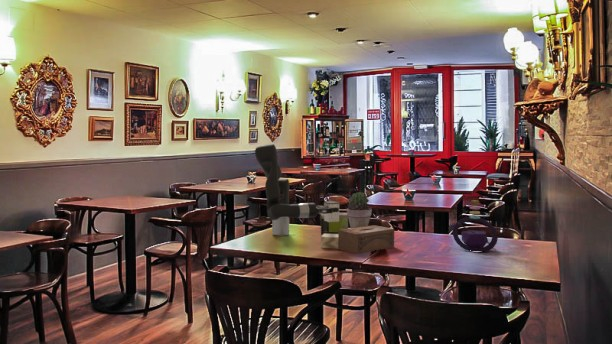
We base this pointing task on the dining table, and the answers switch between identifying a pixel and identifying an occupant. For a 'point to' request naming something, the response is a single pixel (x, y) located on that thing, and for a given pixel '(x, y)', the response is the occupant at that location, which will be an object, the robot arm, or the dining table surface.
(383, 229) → the tissue box cover
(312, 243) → the dining table surface
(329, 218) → the canister
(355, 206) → the potted plant
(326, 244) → the chevron patterned box
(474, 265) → the dining table surface
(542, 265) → the dining table surface
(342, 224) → the tea box
